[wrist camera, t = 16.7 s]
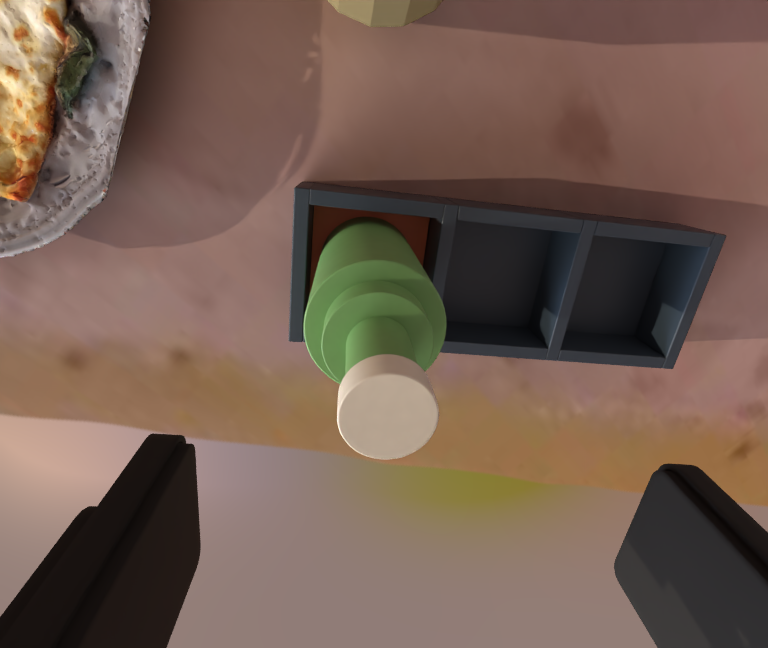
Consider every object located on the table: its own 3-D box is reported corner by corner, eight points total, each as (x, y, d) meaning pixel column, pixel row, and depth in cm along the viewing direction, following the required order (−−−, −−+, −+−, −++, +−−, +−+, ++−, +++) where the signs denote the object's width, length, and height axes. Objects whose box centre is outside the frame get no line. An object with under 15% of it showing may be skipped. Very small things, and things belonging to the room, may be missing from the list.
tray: (679, 223, 29) (727, 235, 25) (636, 343, 32) (673, 369, 29) (301, 181, 26) (294, 187, 23) (296, 317, 30) (288, 341, 26)
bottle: (417, 221, 27) (514, 329, 11) (405, 309, 29) (471, 504, 13) (323, 211, 26) (283, 311, 11) (317, 301, 29) (278, 497, 13)
